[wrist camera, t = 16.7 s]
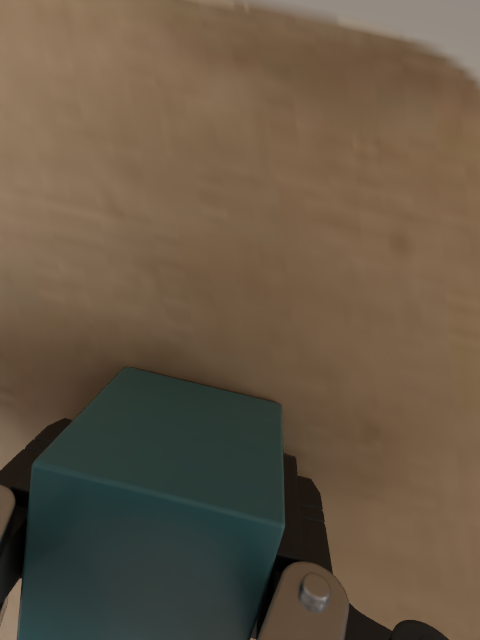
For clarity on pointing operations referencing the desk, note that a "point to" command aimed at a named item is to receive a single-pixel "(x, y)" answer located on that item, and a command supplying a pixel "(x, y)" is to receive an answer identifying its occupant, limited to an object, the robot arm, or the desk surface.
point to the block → (154, 515)
